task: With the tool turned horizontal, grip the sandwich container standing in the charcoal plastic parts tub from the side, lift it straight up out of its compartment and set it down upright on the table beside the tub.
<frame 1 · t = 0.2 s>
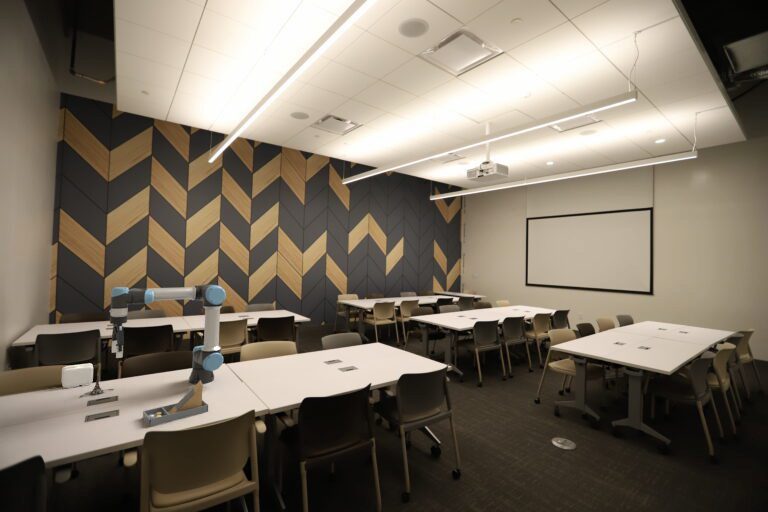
hand: (116, 354, 193), 28 cm above the table, tool pointing down, fingers open, 13 cm apart
cable organizer: (76, 385, 223), on the table
parts tub: (184, 412, 189), on the table
eiffel tower figurine: (97, 394, 210), on the table
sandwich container: (184, 413, 189), resting in parts tub
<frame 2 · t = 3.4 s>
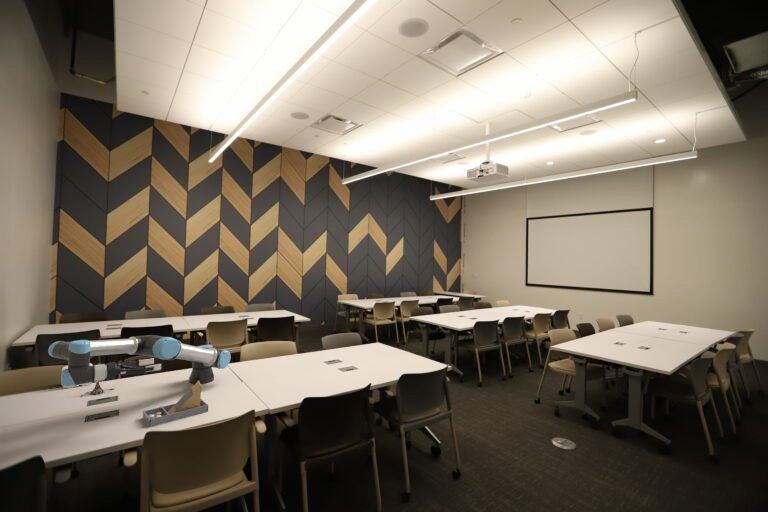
hand: (157, 363, 183), 27 cm above the table, tool horizontal, fingers open, 13 cm apart
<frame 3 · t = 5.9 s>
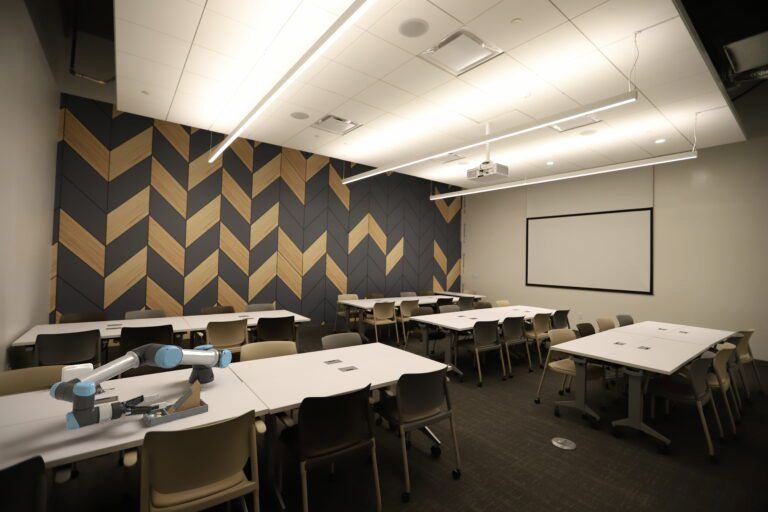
hand: (162, 400, 181), 9 cm above the table, tool horizontal, fingers open, 13 cm apart
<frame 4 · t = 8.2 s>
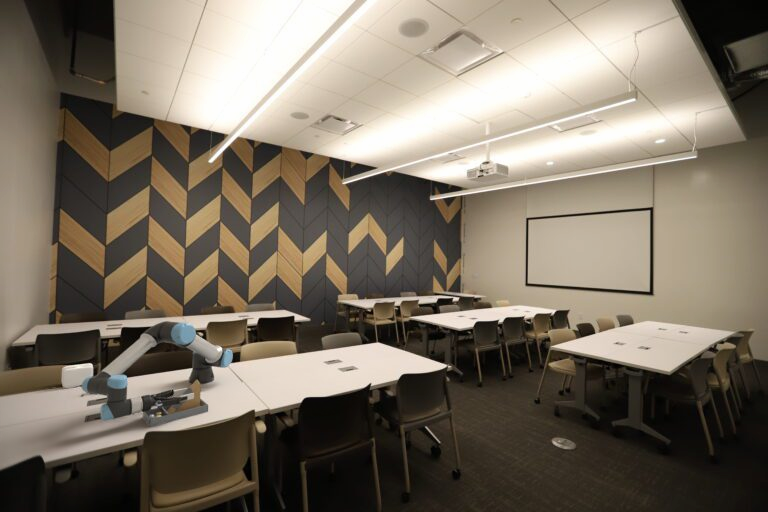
hand: (190, 393, 191), 10 cm above the table, tool horizontal, fingers open, 9 cm apart
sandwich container: (181, 412, 189), resting in parts tub, touching gripper
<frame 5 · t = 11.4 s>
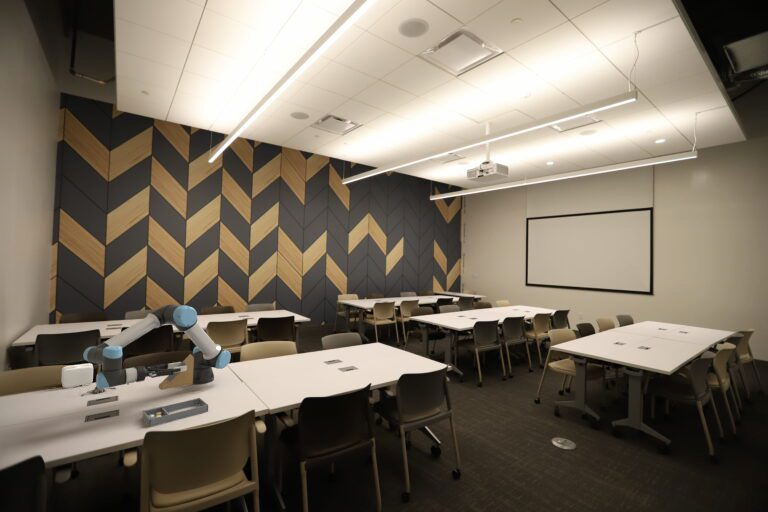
hand: (183, 366, 198), 22 cm above the table, tool horizontal, fingers closed on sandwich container, 8 cm apart
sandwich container: (175, 385, 196), point 12 cm above the table, touching gripper
when the fingers open (11 cm above the table, at t = 14.6 s): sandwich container drops 2 cm, on the table.
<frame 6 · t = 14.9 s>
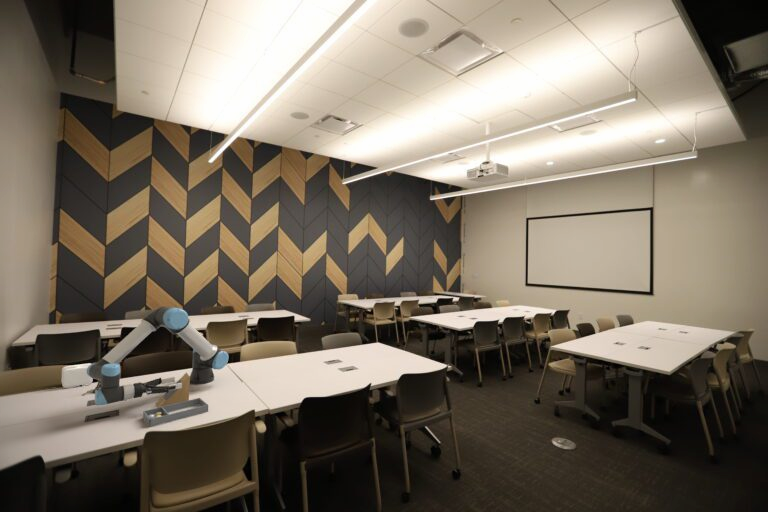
hand: (178, 382, 202), 11 cm above the table, tool horizontal, fingers open, 12 cm apart
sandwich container: (171, 403, 201), on the table
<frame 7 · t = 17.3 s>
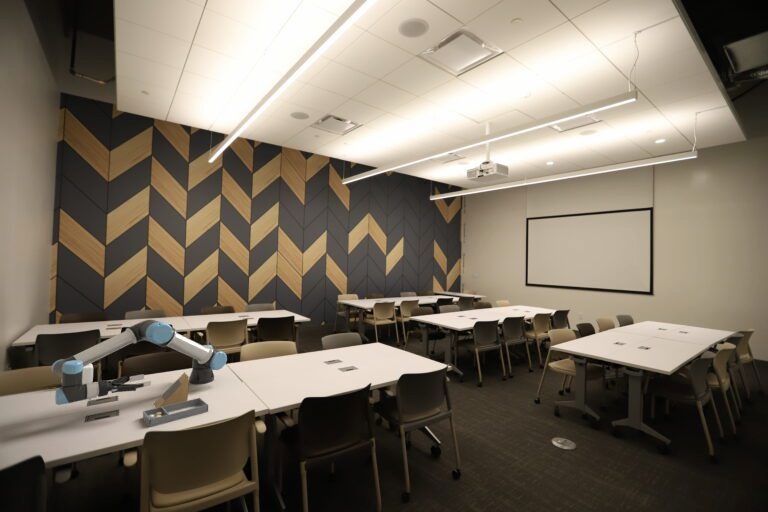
hand: (147, 379, 193), 15 cm above the table, tool horizontal, fingers open, 13 cm apart
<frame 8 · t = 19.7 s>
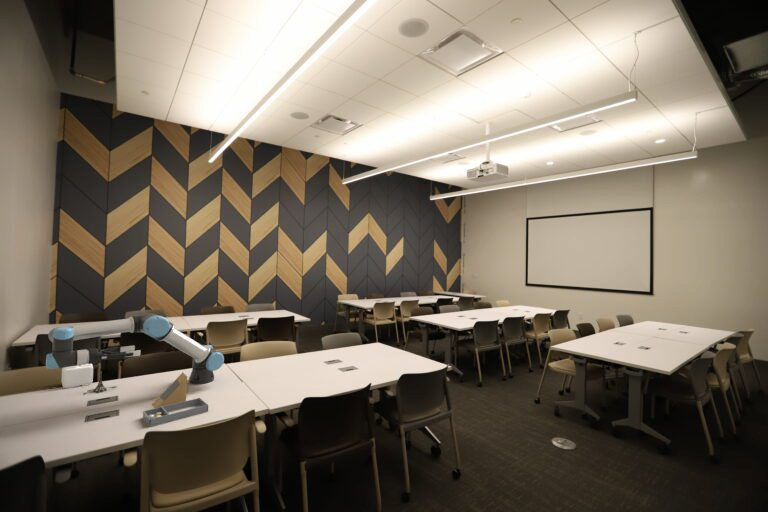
hand: (137, 350, 197), 30 cm above the table, tool horizontal, fingers open, 13 cm apart
at the end: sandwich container inside the target area (1.6 cm from its centre), on the table; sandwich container tilted 0°; the gripper is holding nothing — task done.
